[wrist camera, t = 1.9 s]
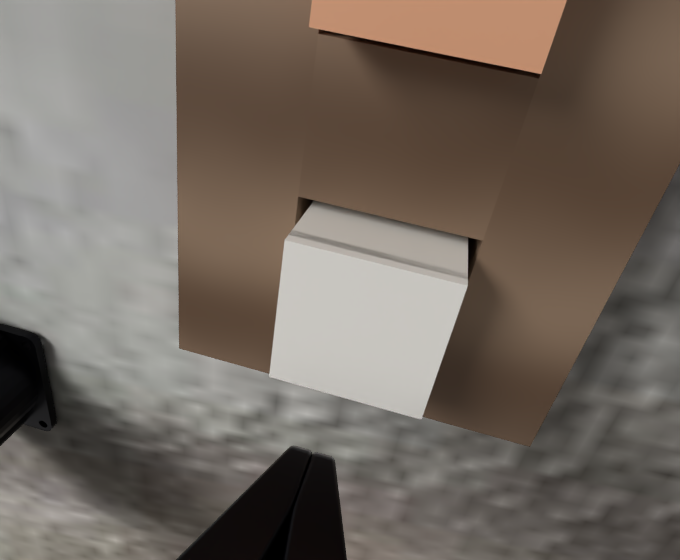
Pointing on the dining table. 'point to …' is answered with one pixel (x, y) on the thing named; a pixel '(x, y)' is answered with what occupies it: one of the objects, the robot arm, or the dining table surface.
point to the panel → (426, 179)
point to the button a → (367, 306)
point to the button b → (451, 27)
